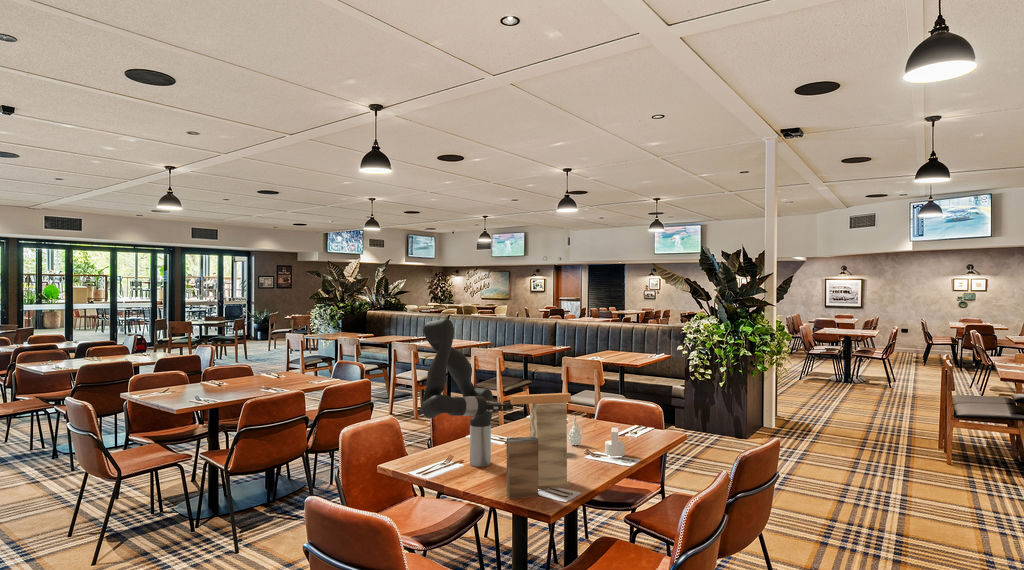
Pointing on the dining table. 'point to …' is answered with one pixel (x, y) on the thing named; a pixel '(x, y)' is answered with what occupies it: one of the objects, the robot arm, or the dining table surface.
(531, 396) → the bar
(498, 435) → the dining table surface
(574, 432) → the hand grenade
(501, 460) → the dining table surface
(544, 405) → the stand
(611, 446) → the cylinder with rectangular tab
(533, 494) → the block
